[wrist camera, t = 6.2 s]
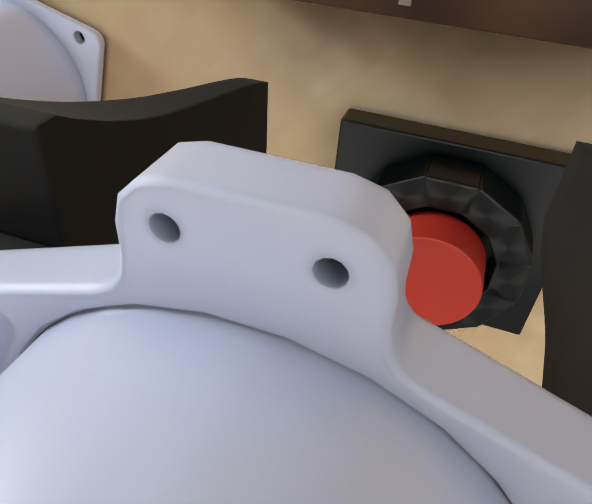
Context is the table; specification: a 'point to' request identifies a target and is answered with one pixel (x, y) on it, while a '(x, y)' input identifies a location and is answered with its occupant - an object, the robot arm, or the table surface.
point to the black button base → (465, 198)
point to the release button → (444, 268)
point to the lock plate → (491, 16)
